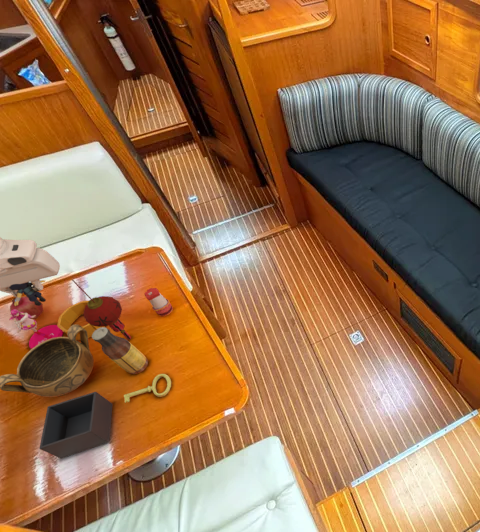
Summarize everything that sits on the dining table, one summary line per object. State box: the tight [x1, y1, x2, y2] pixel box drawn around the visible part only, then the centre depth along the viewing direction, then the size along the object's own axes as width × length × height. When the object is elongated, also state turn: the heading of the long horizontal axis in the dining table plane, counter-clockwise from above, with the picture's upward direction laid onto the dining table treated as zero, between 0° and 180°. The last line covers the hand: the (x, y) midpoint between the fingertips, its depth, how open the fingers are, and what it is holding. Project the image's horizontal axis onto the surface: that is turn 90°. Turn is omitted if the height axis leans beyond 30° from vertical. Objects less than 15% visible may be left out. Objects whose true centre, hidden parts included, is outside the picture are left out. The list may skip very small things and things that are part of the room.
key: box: [123, 373, 172, 404], centre depth 115 cm, size 7×12×2 cm, turn 133°
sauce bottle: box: [91, 326, 149, 375], centre depth 114 cm, size 7×6×20 cm
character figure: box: [9, 279, 47, 306], centre depth 106 cm, size 9×4×12 cm, turn 163°
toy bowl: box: [56, 300, 106, 341], centre depth 130 cm, size 12×13×5 cm
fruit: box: [9, 295, 44, 320], centre depth 130 cm, size 8×8×10 cm
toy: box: [144, 287, 174, 317], centre depth 130 cm, size 5×8×15 cm
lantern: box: [71, 279, 132, 341], centre depth 117 cm, size 10×10×30 cm
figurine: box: [8, 309, 64, 350], centre depth 123 cm, size 10×10×15 cm
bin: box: [38, 391, 114, 460], centre depth 106 cm, size 12×12×8 cm
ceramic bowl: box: [0, 323, 95, 398], centre depth 114 cm, size 22×17×15 cm
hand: (29, 291), depth 107 cm, fingers closed on character figure, 3 cm apart
